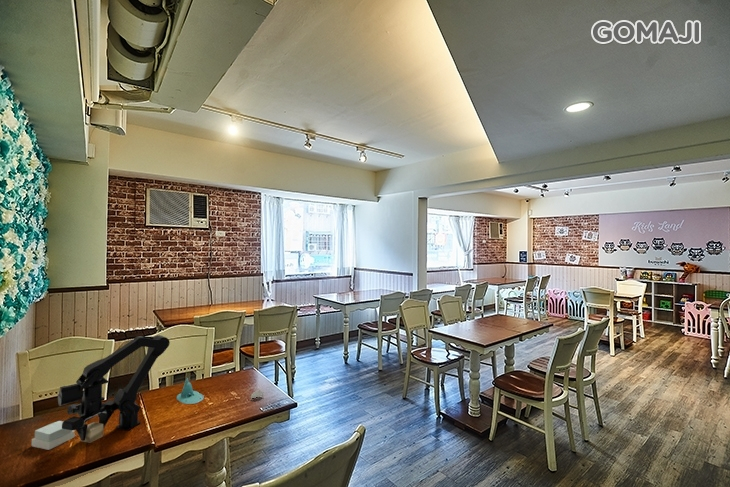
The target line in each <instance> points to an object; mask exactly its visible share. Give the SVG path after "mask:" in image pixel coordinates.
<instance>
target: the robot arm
mask: <svg viewBox="0 0 730 487" xmlns="http://www.w3.org/2000/svg"><path fill="white" fill-rule="evenodd" d="M142 347H143V348H144V347H145V348H147V352H146V354H145V356H144V358H143V359H142V361H141V362H140V364H139V366H137V369H136V371H135V372H134V374H133V375H132V377H131V378H130V380H129V382H128V384H127V385H126V386H125V387H124V388H123V389H122V388H119V389H117V392H116V394H115V395H114V396H113V400H112V399H110V400H107V401H105V397H103V385H105V384H108V383H109V380H108V379H106V378H105V376H106V375H107V374H108V373H109V372H110V370H111V369H112V368H113V367H114V366H115V365H116V364H118V363H120V362H121V361H123V360H124V359H126V358H127V357H129V356H130V355H131V354H133V353H134V352H136V351H138V350H139V349H140V348H142ZM168 347H170V339H169V338H168V337H166V336H163V335H160V334H158V335H155V336H139V335H137V336H135V337H134V338H133V339H131V340H130V341H129V342H127V343H126V344H124V345H123V346H121V347H119V348H118V349H117V350H115V351H114V352H112V353H111V354H109V355H107V356H106V357H104V358H101V359H97V360H95V361H94V362H92V363H90V364H88V365H86V366H85V367H83V371H82V373H81V375H80V376H79V377H78V378H77V380H76V381H75V383H72V384H70V385H63V386H60V387H59V390H58V394H57V402H58V406H59V407H61V406H64V405H69V404H71V405H69V406H67V410H66V411H67V414H68V415H73V416H72V417H69V418H67V419H65V420H63V423H62V429H67V430H74V431H75V432H77V434H78V436H79V438H80V441H81V440H82V441H81V442H83V441H84V440H85V437H86V432H87V426H88V425H89V424H86V421H88V420H90V419H89V418H91V417H92V418H94V417H95V416H98V423H101V424H103V430H104V428H105V427H106V425H107V423H108V422H109V419H111V417H112V415H113V414H114V413H115V411H117V410H118V411H119V416H118V425H116V426H115V429H119V430H125V431H129V430H131V429H133V428H134V427H136V426H137V425H139V424H141V423H142V422H141V421H140V420H138V419H139V418H138V417H139V416H138V415H139V412H140V409H141V406H140V405H138V404H137V403H136V400H137V396H138V391H139V389H140V388H141V386H142V384H143V383H144V380H145V379H146V377H147V375H148V374H149V372H150V371H151V369H152V367H153V366H154V364H155V363H156V361H157V359H158V358H159V357H160V356H161V355H162V354H164V353H165V351H166V350H167V349H168ZM83 394H84V400H82V397H83ZM80 400H81V401H80ZM103 401H105V402H103ZM76 402H80V403H78V404H76ZM102 402H103V403H102ZM72 403H73V404H72ZM78 413H79V414H80V415H82V414H83V415H84V416H81V417H80V416H75V415H76V414H78ZM92 418H91V419H92ZM87 419H88V420H87Z"/></svg>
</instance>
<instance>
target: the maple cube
mask: <svg viewBox="0 0 730 487" xmlns="http://www.w3.org/2000/svg"><path fill="white" fill-rule="evenodd" d="M102 437H104V429H103V424H101V423H99V422H92V423H89V424H88V426H87V432H86V437H85V440H84V441H82V440H81V439H80V442H83V443H89V444H91V443H93V442H95V441H97V440H99V439H100V438H102Z"/></svg>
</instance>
